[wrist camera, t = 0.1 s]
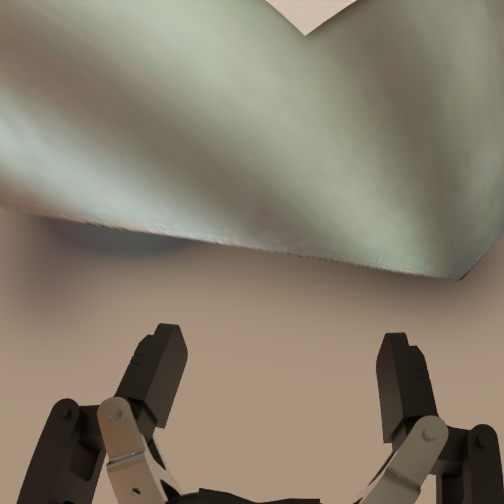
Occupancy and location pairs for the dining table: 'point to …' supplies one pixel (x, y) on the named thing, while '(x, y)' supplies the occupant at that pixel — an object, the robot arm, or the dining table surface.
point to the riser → (309, 11)
